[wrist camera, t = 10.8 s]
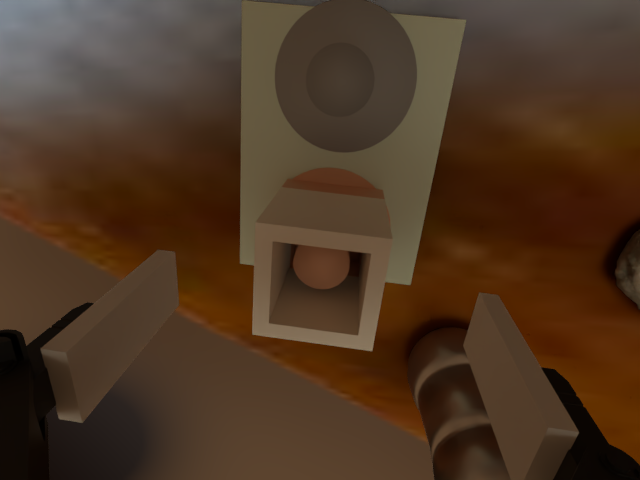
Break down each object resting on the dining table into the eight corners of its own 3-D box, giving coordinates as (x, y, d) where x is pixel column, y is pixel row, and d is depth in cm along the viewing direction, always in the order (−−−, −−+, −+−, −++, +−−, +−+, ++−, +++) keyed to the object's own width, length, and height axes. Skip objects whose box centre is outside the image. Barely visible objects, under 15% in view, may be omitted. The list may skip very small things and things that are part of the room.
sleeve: (287, 178, 24) (255, 222, 17) (382, 189, 24) (392, 239, 16) (282, 263, 26) (252, 334, 19) (368, 274, 26) (372, 351, 19)
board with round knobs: (247, -6, 22) (203, -41, 15) (462, 12, 21) (505, -16, 15) (244, 262, 28) (212, 313, 22) (407, 282, 28) (420, 341, 21)
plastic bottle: (395, 377, 31) (446, 810, 13) (415, 307, 28) (516, 728, 10) (474, 391, 31) (644, 853, 12) (502, 322, 28) (770, 781, 10)
